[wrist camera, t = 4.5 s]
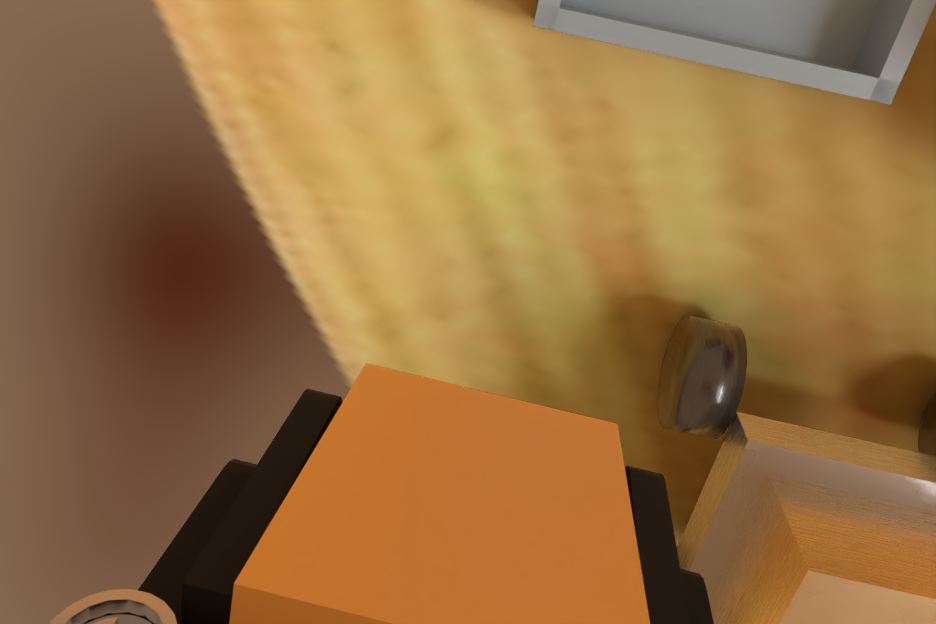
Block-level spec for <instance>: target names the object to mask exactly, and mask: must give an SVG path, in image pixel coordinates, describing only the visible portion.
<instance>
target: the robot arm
mask: <svg viewBox="0 0 936 624" xmlns="http://www.w3.org/2000/svg"><path fill="white" fill-rule="evenodd" d="M341 404H342V398H341V397H339V396H335V395H331V394H327V393H323V392H319V391H314V390H310V389H306V390H305V391H304V392H303V394H302V396H301V397H300V399H299V400H298V402H297V403H296V405H295V407H294V408H293V410H292V411H291V413H290V414H289V416H288V417H287V419H286V421H285V422H284V424H283V425H282V427H281V428H280V430H279V432H278V433H277V435H276V436H275V438H274V440H273V441H272V443H271V444H270V446H269V447H268V449H267V450H266V452H265V454H264V455H263V457H262V458H261V460H260V461H259V463H258V465H256V464H252V463H248V462H244V461H240V460H236V459H233V460H231V461H229V462H228V463H227V465H226V466H225V467H224V468H223V470H222V471H221V472H220V474H219V475H218V477H217V478H216V480H215V481H214V482H213V484H212V485H211V487H210V488H209V490H208V491H207V492H206V494H205V495H204V497H203V498H202V500H201V501H200V502H199V504H198V505H197V507H196V508H195V509H194V511H193V512H192V514H191V515H190V517H189V518H188V519H187V521H186V522H185V524H184V525H183V527H182V528H181V530H180V531H179V532H178V534H177V535H176V537H175V538H174V540H173V541H172V542H171V544H170V545H169V547H168V548H167V549H166V551H165V552H164V554H163V555H162V557H161V558H160V559H159V561H158V562H157V564H156V565H155V567H154V568H153V569H152V571H151V572H150V574H149V575H148V577H147V578H146V580H145V581H144V582H143V584H142V585H141V587H140V588H139V589H138V590H133V589H122V590H109V591H105V592H101V593H97V594H93V595H90V596H88V597H86V598H84V599H82V600H80V601H77V602H75V603H73V604H71V605H70V606H69V607H68V608H66V609H65V610H64V611H62V612H61V613H60V614H58V615H57V616H56V617H55V618H54V619H53V620H52V621H51V623H50V624H229V622H230V613H231V604H232V595H233V587H234V582H235V581H236V579H237V577H238V576H239V574H240V572H241V571H242V569H243V567H244V566H245V564H246V562H247V561H248V559H249V557H250V556H251V554H252V552H253V551H254V549H255V547H256V546H257V544H258V542H259V541H260V539H261V538H262V536H263V534H264V533H265V531H266V529H267V528H268V526H269V524H270V523H271V521H272V519H273V518H274V516H275V514H276V513H277V511H278V509H279V508H280V506H281V504H282V503H283V501H284V499H285V498H286V496H287V494H288V493H289V491H290V489H291V488H292V486H293V484H294V483H295V481H296V479H297V478H298V476H299V474H300V473H301V471H302V469H303V468H304V466H305V464H306V463H307V461H308V459H309V458H310V456H311V454H312V453H313V451H314V449H315V448H316V446H317V444H318V443H319V441H320V439H321V438H322V436H323V434H324V433H325V431H326V429H327V428H328V426H329V424H330V423H331V421H332V419H333V418H334V416H335V414H336V413H337V411H338V409H339V408H340V406H341ZM625 472H626V478H627V484H628V491H629V497H630V503H631V509H632V515H633V521H634V527H635V534H636V540H637V546H638V552H639V558H640V564H641V570H642V577H643V583H644V589H645V595H646V601H647V607H648V613H649V620H650V624H714V622H713V617H712V612H711V608H710V603H709V598H708V593H707V589H706V585H705V582H704V579H703V577H702V576H701V575H700V574H699V573H695V572H691V571H687V570H683V569H680V565H679V559H678V553H677V547H676V542H675V536H674V530H673V524H672V519H671V513H670V507H669V501H668V496H667V490H666V484H665V479H664V476H663V475H662V474H658V473H654V472H650V471H646V470H642V469H638V468H633V467H629V466H627V467H625Z"/></svg>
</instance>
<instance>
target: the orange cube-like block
mask: <svg viewBox="0 0 936 624" xmlns="http://www.w3.org/2000/svg"><path fill="white" fill-rule="evenodd" d="M229 624H650V620H649V613H648V607H647V601H646V595H645V589H644V583H643V577H642V570H641V564H640V558H639V552H638V546H637V540H636V534H635V527H634V521H633V515H632V509H631V503H630V497H629V491H628V484H627V478H626V472H625V466H624V460H623V454H622V447H621V441H620V435H619V429H618V424H617V423H613V422H608V421H604V420H600V419H596V418H592V417H588V416H583V415H579V414H575V413H571V412H567V411H562V410H558V409H554V408H550V407H546V406H542V405H537V404H533V403H529V402H525V401H521V400H517V399H512V398H508V397H504V396H500V395H496V394H492V393H487V392H483V391H479V390H475V389H471V388H467V387H462V386H458V385H454V384H450V383H446V382H441V381H437V380H433V379H429V378H425V377H421V376H416V375H412V374H408V373H404V372H400V371H396V370H391V369H387V368H383V367H379V366H375V365H371V364H365V366H364V368H363V369H362V371H361V373H360V374H359V376H358V378H357V379H356V381H355V383H354V384H353V386H352V388H351V389H350V391H349V393H348V394H347V396H346V398H345V399H344V401H343V403H342V404H341V406H340V408H339V409H338V411H337V413H336V414H335V416H334V418H333V419H332V421H331V423H330V424H329V426H328V428H327V429H326V431H325V433H324V434H323V436H322V438H321V439H320V441H319V443H318V444H317V446H316V448H315V449H314V451H313V453H312V454H311V456H310V458H309V459H308V461H307V463H306V464H305V466H304V468H303V469H302V471H301V473H300V474H299V476H298V478H297V479H296V481H295V483H294V484H293V486H292V488H291V489H290V491H289V493H288V494H287V496H286V498H285V499H284V501H283V503H282V504H281V506H280V508H279V509H278V511H277V513H276V514H275V516H274V518H273V519H272V521H271V523H270V524H269V526H268V528H267V529H266V531H265V533H264V534H263V536H262V538H261V539H260V541H259V542H258V544H257V546H256V547H255V549H254V551H253V552H252V554H251V556H250V557H249V559H248V561H247V562H246V564H245V566H244V567H243V569H242V571H241V572H240V574H239V576H238V577H237V579H236V581H235V582H234V587H233V595H232V604H231V613H230V622H229Z"/></svg>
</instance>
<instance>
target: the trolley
mask: <svg viewBox="0 0 936 624" xmlns="http://www.w3.org/2000/svg"><path fill="white" fill-rule="evenodd" d="M746 365H747V348H746V341H745V337H744V334H743V332H742V330H741V329H740V328H739V327H738V326H735V325H731V324H726V323H722V322H717V321H713V320H709V319H704V318H700V317H695V316H691V315H688V316H686V317H684V318H683V319H682V320H681V321H680V323H679V324H678V325H677V327H676V329H675V331H674V333H673V335H672V337H671V339H670V342H669V344H668V347H667V350H666V354H665V357H664V361H663V365H662V369H661V374H660V380H659V387H658V398H657V409H658V417H659V421H660V424H661V426H662V427H663V428H664V429H668V430H672V431H677V432H681V433H686V434H690V435H695V436H699V437H703V438H708V439H717V438H718V437H720V436H721V435H722V434H723V433H724V432H725V431H726V429H727V428H728V426H729V424H730V423H731V421H732V423H731V425H730V427H729V430H728V432H727V434H726V436H725V439H724V441H723V443H722V446H721V448H720V450H719V453H718V455H717V457H716V459H715V462H714V464H713V466H712V469H711V471H710V473H709V476H708V478H707V480H706V482H705V485H704V487H703V489H702V492H701V494H700V496H699V499H698V501H697V503H696V505H695V508H694V510H693V512H692V515H691V517H690V519H689V522H688V524H687V526H686V528H685V531H684V533H683V535H682V538H681V540H680V542H679V545H678V547H677V553H678V559H679V565H680V569H683V570H687V571H691V572H695V573H699V574H700V575H701V576H702V577H703V579H704V582H705V585H706V589H707V593H708V598H709V603H710V608H711V612H712V617H713V622H714V624H936V393H935V395H934V396H933V397H932V399H931V400H930V402H929V404H928V406H927V407H926V410H925V412H924V414H923V417H922V421H921V424H920V429H919V436H918V451H919V452H914V451H910V450H905V449H901V448H896V447H892V446H888V445H883V444H879V443H874V442H870V441H865V440H861V439H856V438H852V437H848V436H843V435H839V434H834V433H830V432H825V431H821V430H816V429H812V428H807V427H803V426H799V425H794V424H790V423H785V422H781V421H776V420H772V419H767V418H763V417H759V416H754V415H750V414H745V413H741V412H736V410H737V407H738V404H739V401H740V398H741V394H742V390H743V386H744V381H745V375H746ZM735 412H736V414H735ZM734 415H735V416H734ZM733 417H734V418H733ZM732 419H733V420H732Z"/></svg>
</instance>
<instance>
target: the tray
mask: <svg viewBox="0 0 936 624" xmlns="http://www.w3.org/2000/svg"><path fill="white" fill-rule="evenodd" d="M935 5H936V0H539V1H538V6H537V10H536V15H535V19H534V24H533V26H534V27H539V28H543V29H548V30H552V31H557V32H561V33H566V34H570V35H575V36H580V37H584V38H589V39H593V40H598V41H602V42H607V43H611V44H616V45H621V46H625V47H630V48H634V49H639V50H643V51H648V52H652V53H657V54H662V55H666V56H671V57H675V58H680V59H684V60H689V61H693V62H698V63H703V64H707V65H712V66H716V67H721V68H725V69H730V70H734V71H739V72H744V73H748V74H753V75H757V76H762V77H766V78H771V79H775V80H780V81H785V82H789V83H794V84H798V85H803V86H807V87H812V88H816V89H821V90H826V91H830V92H835V93H839V94H844V95H848V96H853V97H857V98H862V99H866V100H871V101H876V102H880V103H885V104H889V105H891V103H892V101H893V98H894V96H895V94H896V92H897V89H898V87H899V85H900V83H901V81H902V78H903V76H904V74H905V72H906V69H907V67H908V65H909V63H910V60H911V58H912V56H913V54H914V51H915V49H916V47H917V45H918V43H919V40H920V38H921V36H922V34H923V31H924V29H925V27H926V25H927V22H928V20H929V18H930V16H931V13H932V11H933V9H934V7H935Z"/></svg>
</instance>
